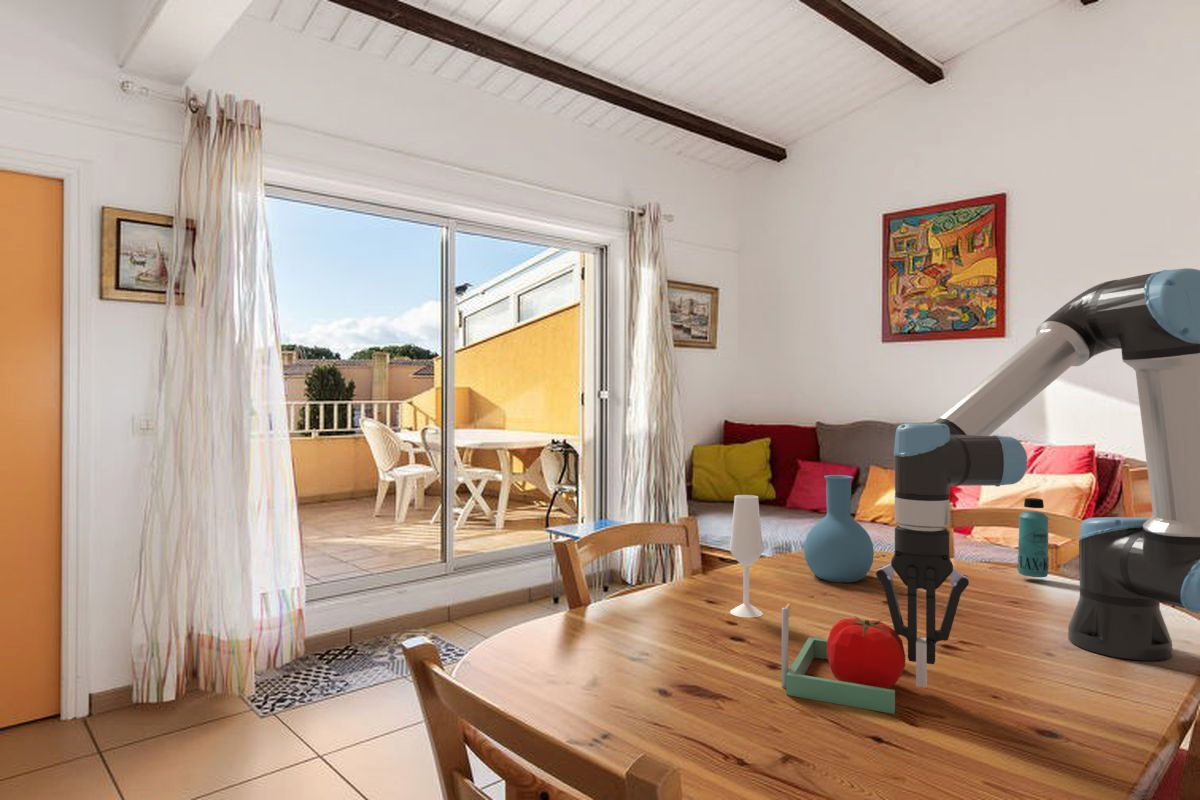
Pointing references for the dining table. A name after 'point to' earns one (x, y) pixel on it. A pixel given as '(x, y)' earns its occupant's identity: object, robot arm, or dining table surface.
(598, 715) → the dining table surface
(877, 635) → the tomato
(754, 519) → the champagne flute
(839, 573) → the vase
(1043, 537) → the beverage bottle
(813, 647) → the green u-shaped frame
